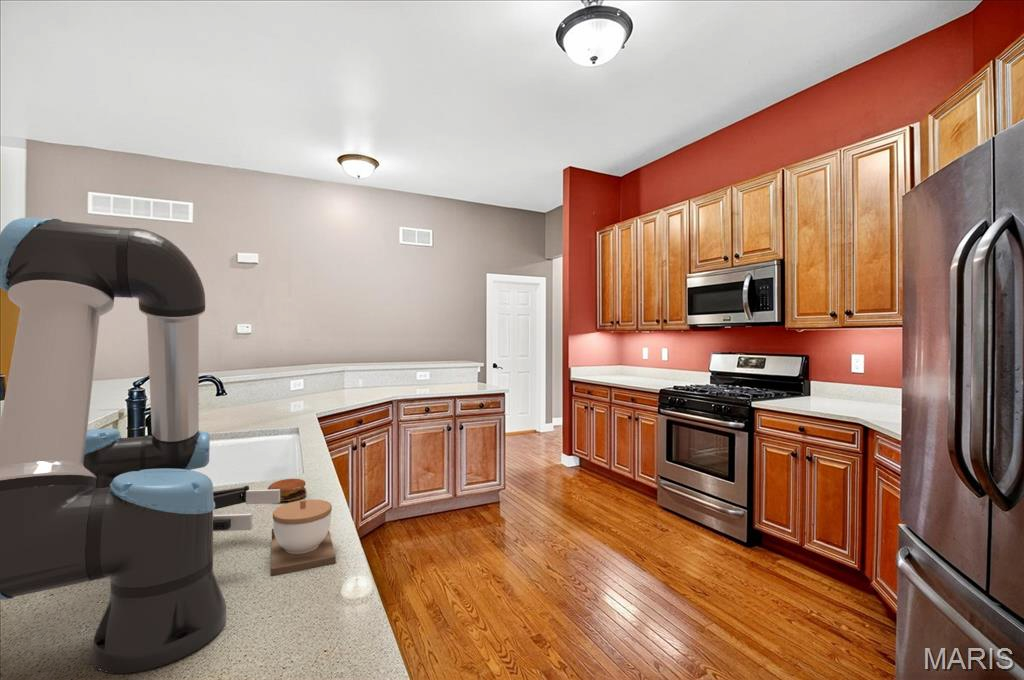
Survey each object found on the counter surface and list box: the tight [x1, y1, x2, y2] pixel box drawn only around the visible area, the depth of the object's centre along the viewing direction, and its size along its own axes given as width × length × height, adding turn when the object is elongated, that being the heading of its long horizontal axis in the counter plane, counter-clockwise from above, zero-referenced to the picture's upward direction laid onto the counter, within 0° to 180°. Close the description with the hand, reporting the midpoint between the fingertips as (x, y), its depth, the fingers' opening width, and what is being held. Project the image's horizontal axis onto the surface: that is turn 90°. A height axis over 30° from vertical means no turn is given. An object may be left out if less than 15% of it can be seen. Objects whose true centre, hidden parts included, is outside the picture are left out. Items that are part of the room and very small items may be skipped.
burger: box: [267, 478, 307, 503], centre depth 122 cm, size 10×9×5 cm
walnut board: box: [270, 528, 337, 577], centre depth 91 cm, size 15×11×3 cm
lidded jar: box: [272, 498, 333, 554], centre depth 91 cm, size 11×11×9 cm
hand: (266, 507), depth 90 cm, fingers open, 13 cm apart
